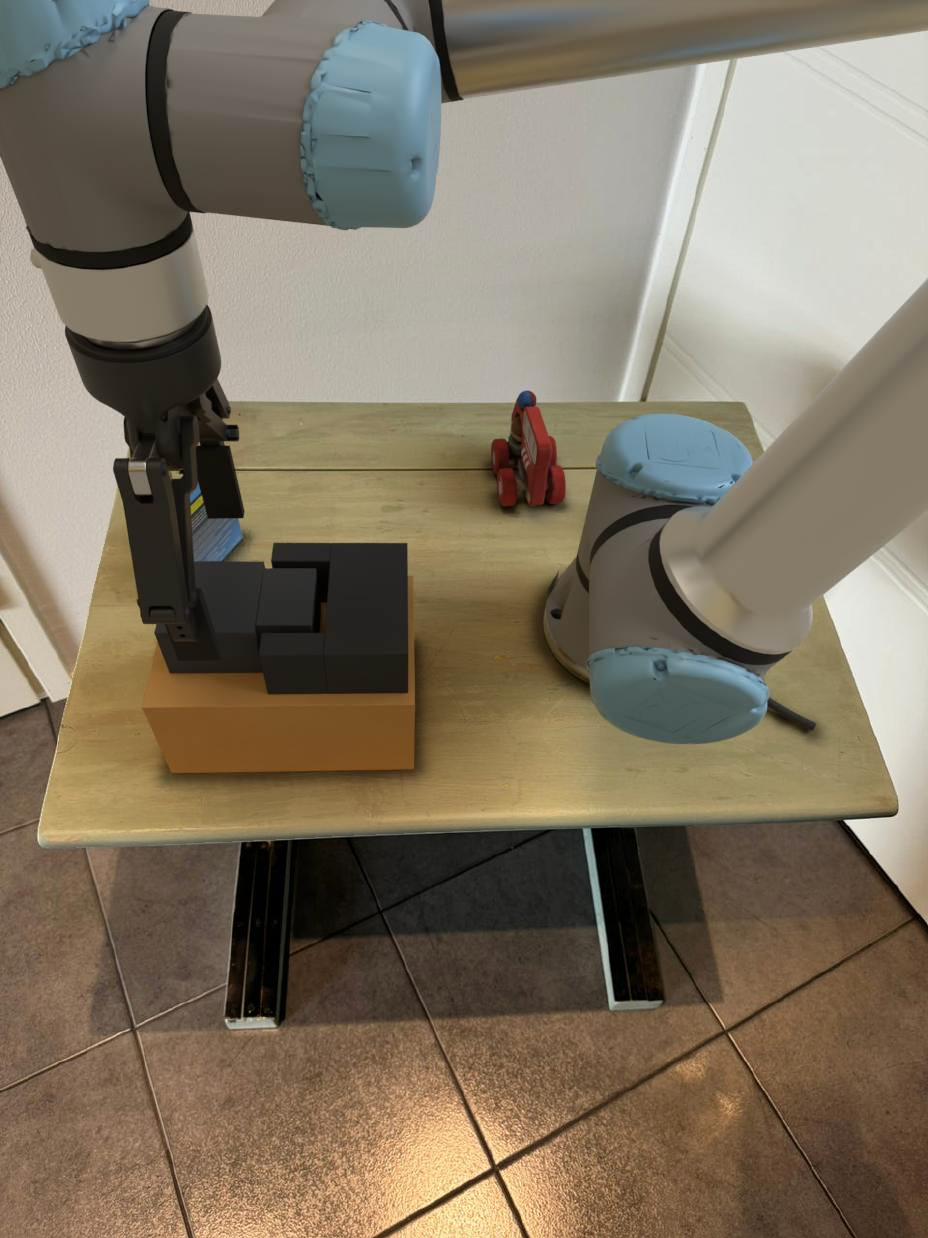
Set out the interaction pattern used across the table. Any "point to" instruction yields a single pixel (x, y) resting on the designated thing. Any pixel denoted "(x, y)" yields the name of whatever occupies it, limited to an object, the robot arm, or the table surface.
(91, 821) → the table surface
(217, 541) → the blue retail box
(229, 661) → the black stepped block
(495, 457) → the toy fire truck
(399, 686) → the orange and black block
